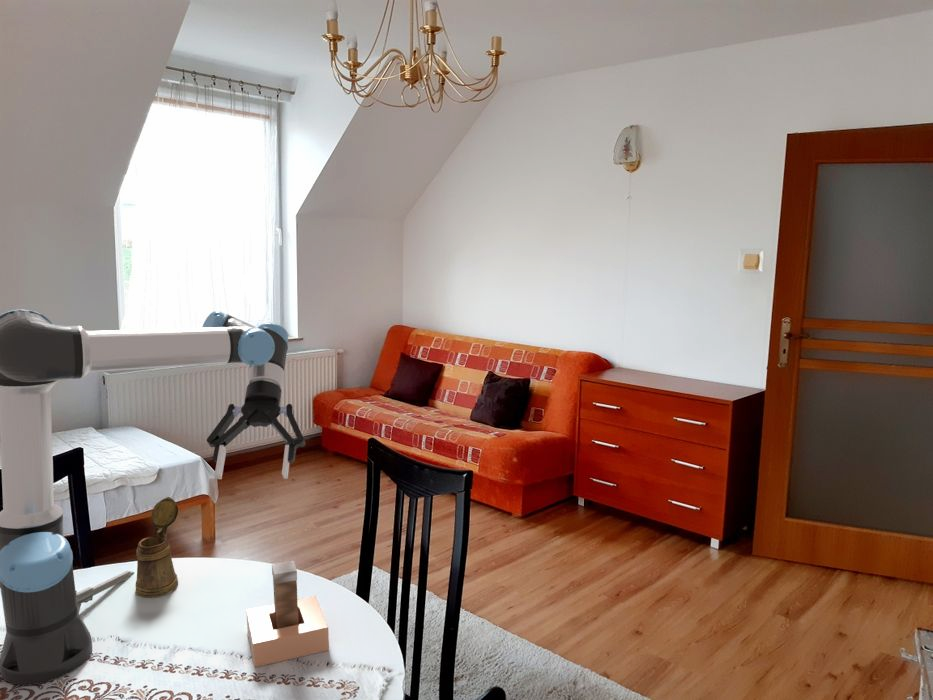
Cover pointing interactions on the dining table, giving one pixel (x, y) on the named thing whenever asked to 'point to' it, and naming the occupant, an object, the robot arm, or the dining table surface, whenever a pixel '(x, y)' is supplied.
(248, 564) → the dining table surface
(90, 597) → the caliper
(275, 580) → the silver-capped wooden peg
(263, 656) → the terracotta holder
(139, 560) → the wooden mug
